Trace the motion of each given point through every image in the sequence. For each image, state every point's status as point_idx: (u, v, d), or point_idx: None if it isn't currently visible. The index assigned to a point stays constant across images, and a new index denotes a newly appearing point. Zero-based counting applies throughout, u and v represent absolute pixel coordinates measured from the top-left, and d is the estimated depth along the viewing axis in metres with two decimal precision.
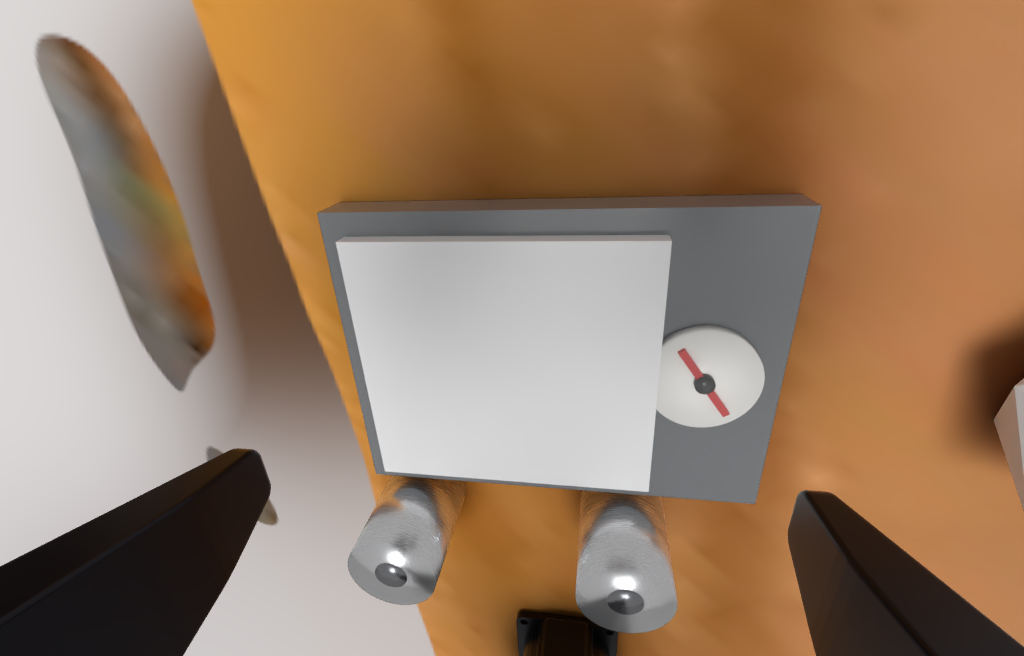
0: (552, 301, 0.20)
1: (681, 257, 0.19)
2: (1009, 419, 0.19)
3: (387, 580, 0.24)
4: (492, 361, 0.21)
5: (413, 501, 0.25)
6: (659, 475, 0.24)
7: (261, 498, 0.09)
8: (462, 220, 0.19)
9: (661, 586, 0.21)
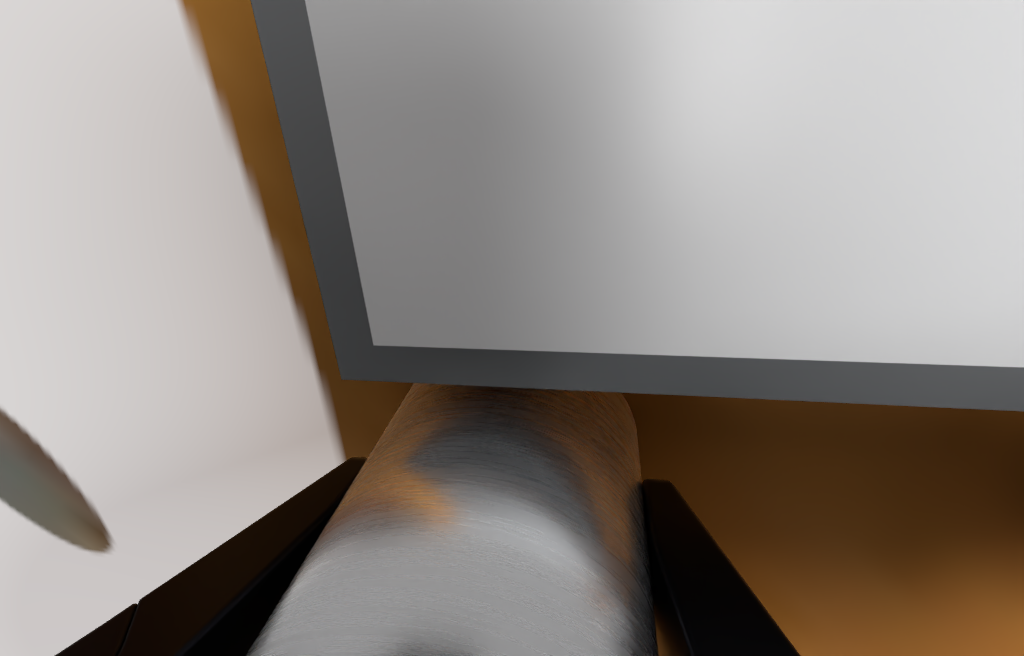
0: None
1: None
2: None
3: None
4: None
5: (506, 485, 0.05)
6: None
7: None
8: None
9: None
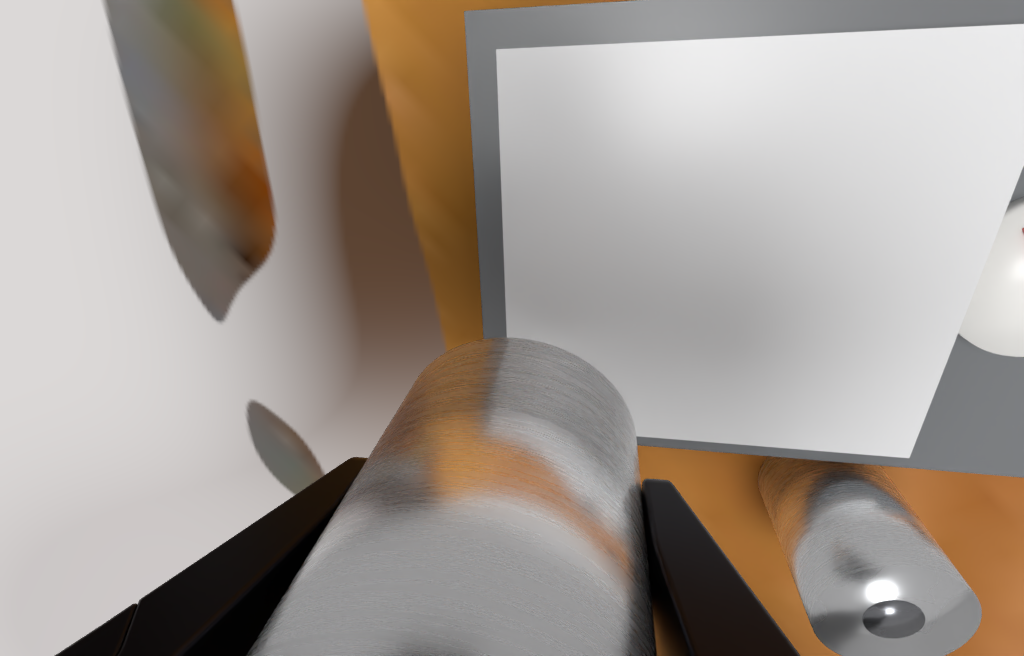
0: (836, 143, 0.13)
1: None
2: None
3: None
4: (711, 250, 0.14)
5: (505, 489, 0.05)
6: (917, 436, 0.16)
7: None
8: (699, 14, 0.13)
9: (962, 596, 0.14)
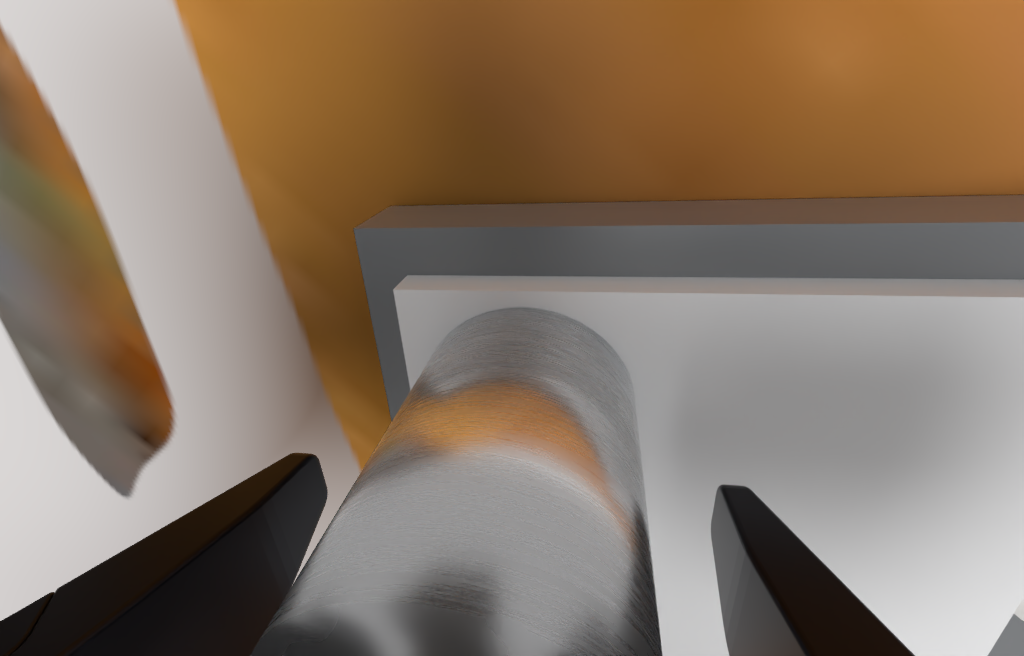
0: (852, 416, 0.09)
1: None
2: None
3: None
4: (690, 514, 0.11)
5: (524, 420, 0.06)
6: None
7: (319, 503, 0.09)
8: (663, 245, 0.09)
9: None
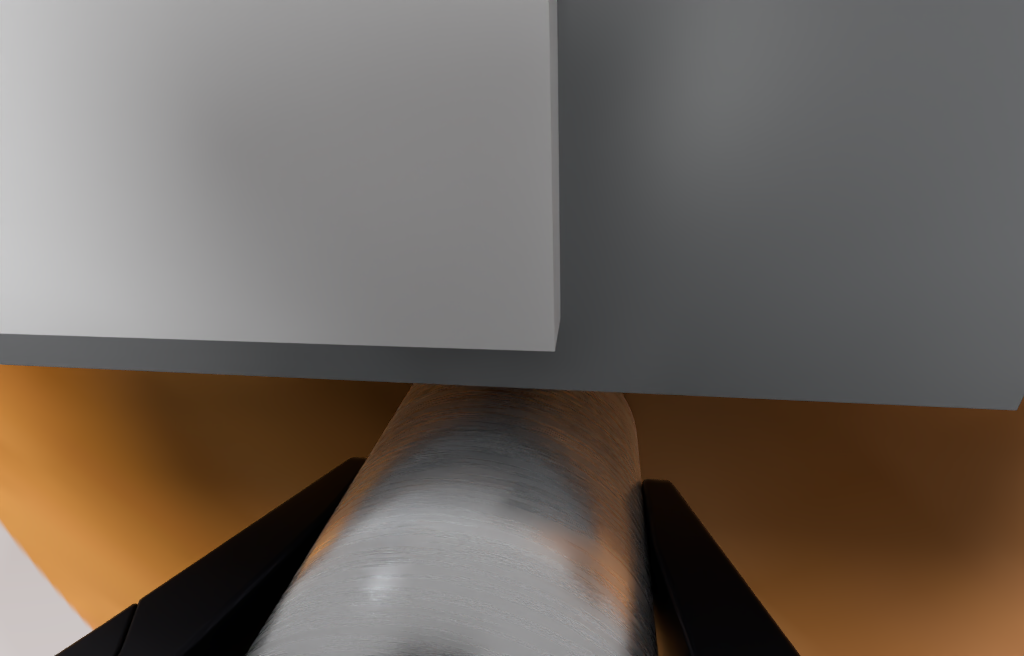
0: None
1: None
2: None
3: None
4: None
5: None
6: (608, 294, 0.06)
7: None
8: None
9: None
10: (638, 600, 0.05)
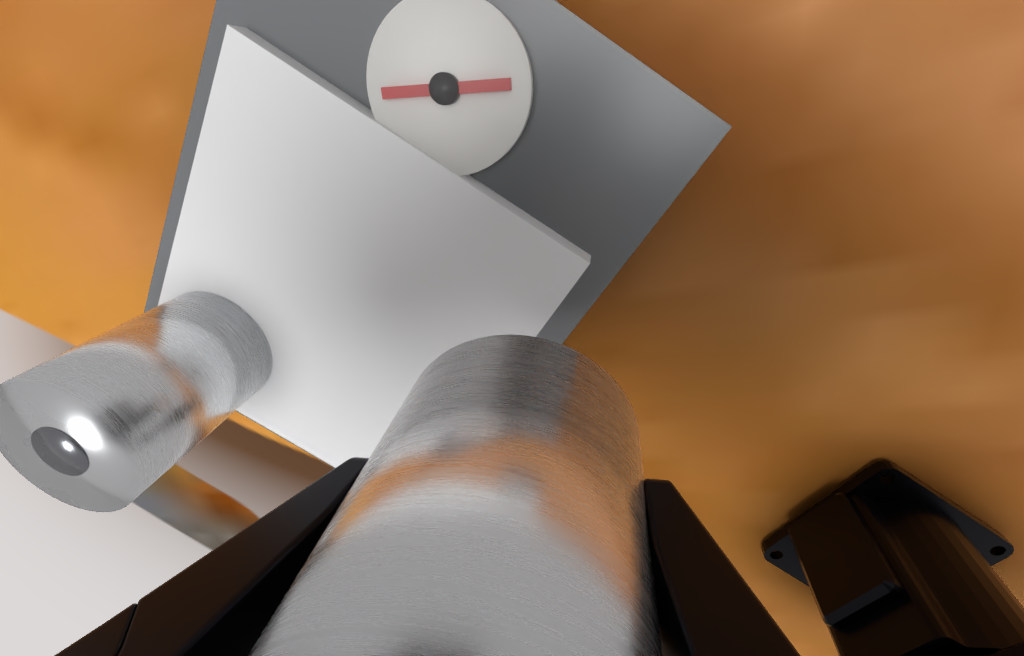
0: (261, 206, 0.16)
1: (279, 27, 0.14)
2: None
3: (79, 466, 0.13)
4: (313, 315, 0.17)
5: None
6: (592, 235, 0.15)
7: None
8: (172, 237, 0.18)
9: None
10: (641, 598, 0.05)
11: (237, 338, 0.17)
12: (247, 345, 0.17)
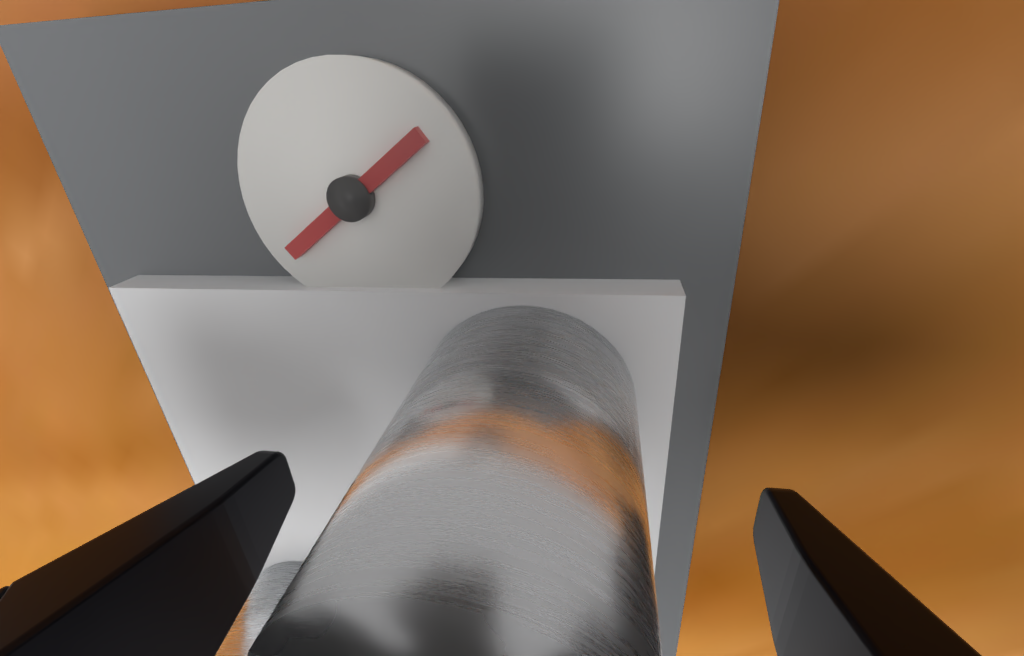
0: None
1: (164, 252, 0.11)
2: None
3: None
4: None
5: None
6: (664, 252, 0.09)
7: (286, 501, 0.09)
8: None
9: None
10: (635, 513, 0.06)
11: None
12: None
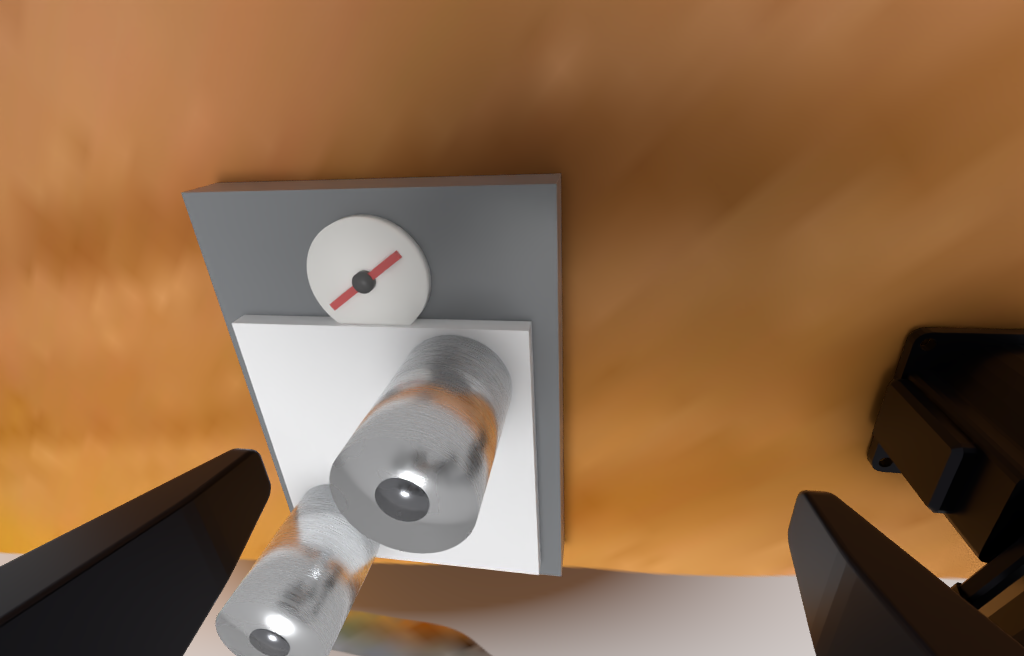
0: (312, 414, 0.21)
1: (260, 303, 0.20)
2: None
3: (285, 648, 0.19)
4: None
5: None
6: (522, 307, 0.18)
7: (261, 498, 0.09)
8: None
9: (445, 469, 0.13)
10: (482, 425, 0.15)
11: None
12: None
